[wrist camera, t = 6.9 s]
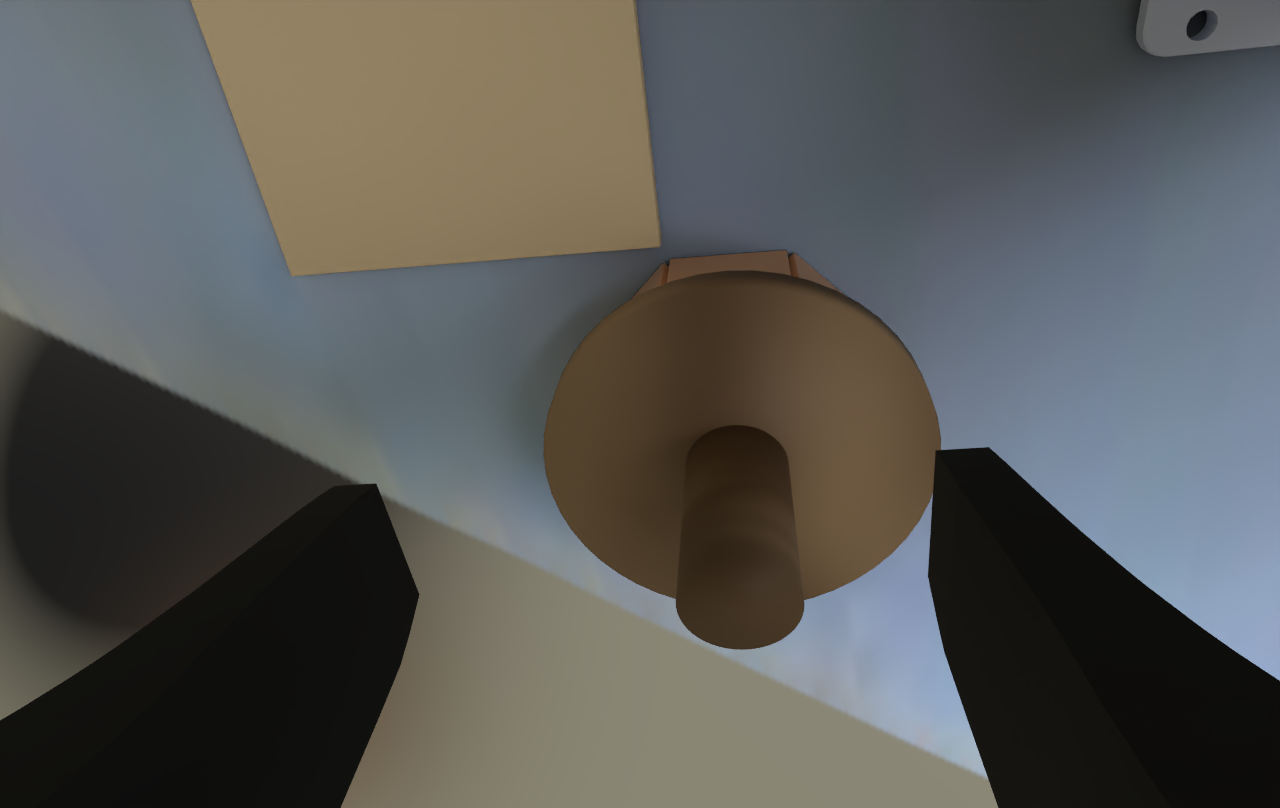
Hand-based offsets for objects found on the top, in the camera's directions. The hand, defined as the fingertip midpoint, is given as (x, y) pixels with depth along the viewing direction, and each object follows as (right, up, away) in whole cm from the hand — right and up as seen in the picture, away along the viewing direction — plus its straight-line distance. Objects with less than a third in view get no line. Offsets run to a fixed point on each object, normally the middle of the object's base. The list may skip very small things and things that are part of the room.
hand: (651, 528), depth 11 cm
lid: (+2, +1, +7) cm, 8 cm away
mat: (-5, +9, +7) cm, 12 cm away
